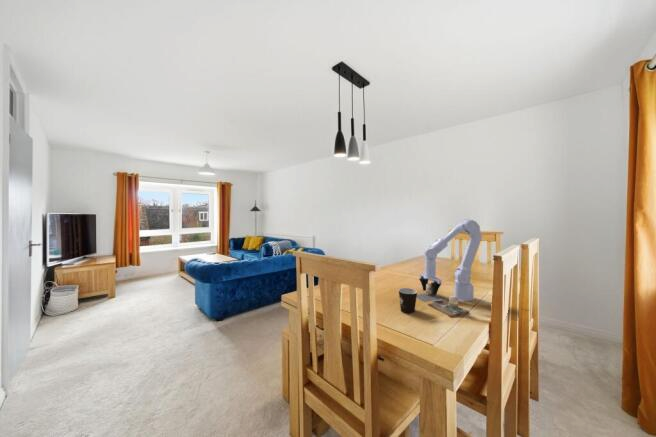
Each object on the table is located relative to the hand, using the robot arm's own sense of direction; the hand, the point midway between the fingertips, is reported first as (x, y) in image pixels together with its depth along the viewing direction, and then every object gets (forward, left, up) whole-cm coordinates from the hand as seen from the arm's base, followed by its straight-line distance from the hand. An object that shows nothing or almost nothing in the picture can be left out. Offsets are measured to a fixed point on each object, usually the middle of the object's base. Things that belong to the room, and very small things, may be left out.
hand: (429, 292), depth 139 cm
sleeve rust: (0, 0, -1) cm, 1 cm away
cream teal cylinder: (+6, +21, -1) cm, 22 cm away
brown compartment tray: (+6, +18, -2) cm, 19 cm away
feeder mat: (+3, +2, -2) cm, 4 cm away
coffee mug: (+25, +11, -2) cm, 27 cm away
